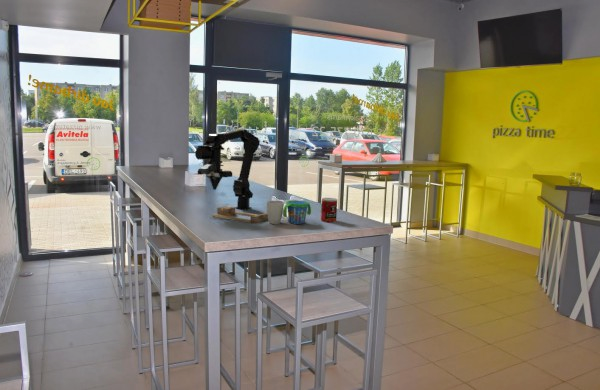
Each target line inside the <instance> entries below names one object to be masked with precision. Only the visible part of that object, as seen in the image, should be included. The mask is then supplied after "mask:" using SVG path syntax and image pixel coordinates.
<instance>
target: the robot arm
mask: <svg viewBox="0 0 600 390" xmlns="http://www.w3.org/2000/svg"><path fill="white" fill-rule="evenodd" d="M236 139H239V140H240V141H241V142H243V143H242V144H243V145H242V146H243V149H244V153H243V158H242V163H241V167H240V172H239V176H238V177H237V179H234V181H233V185H232V190H233V192H234V196H235V197H237V206H234V207H235V209H238V210H249V209H252V208H253V207H251V206H250V201H251V200H250V199H252V198H253V196H254V193H253V192H252V191H251V189H250V182H249V178H250V177H249V176H250V174H251V173H250V172H251V169H252V163H253V158H254V155H255V153H256V152H257V150H259V146H260V143H261V142H260V139H259V138H258V136H255V134H252V133H251V132H250V131H248V130H247V129H245V128H239V129H236V130H231V131H228V132H224V133H209V134H208V136H207V138H206V140H205V142H204V143H203V145H197V148H196V150H195V152H194V154H195V155H194V156H195V158H196V159H197V160H207V162H206V164H204V165H203V166H201V167H200V168H198V169H197V175H201V176H202V175H206V176H205V177H206V178H208V179H209V181H210V184H211V186H212V190H214V191H215V190H217V188H218V186H219V184H220V182H221V181H222V179H223V178H230V177H233V172H232V170H223V168H222V167H221V166H222V164H223V160H221V158H222V151H225V148H224V147H223V145H225V143H226V142H229V141H232V140H236Z"/></svg>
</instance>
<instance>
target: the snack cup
mask: <svg viewBox="0 0 600 390" xmlns="http://www.w3.org/2000/svg"><path fill="white" fill-rule="evenodd" d="M311 214H312V209H311V205H310V203H309V202H308V201H306V200H297V199H296V200H295V199H294V200H288V201H286V203H285V204H284V207H283V214H282V217H284V218H288V222H289V223H290V224H294V225H302V224H305V222H306V216H307V215H308V216H310V215H311ZM287 216H288V217H287Z"/></svg>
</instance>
